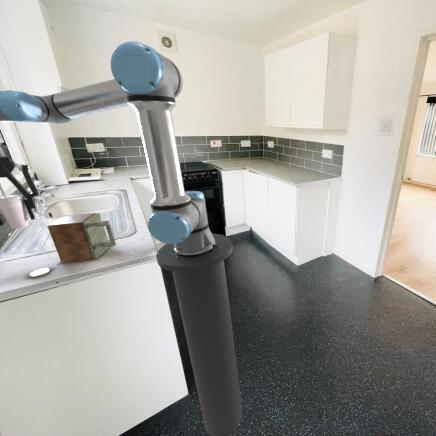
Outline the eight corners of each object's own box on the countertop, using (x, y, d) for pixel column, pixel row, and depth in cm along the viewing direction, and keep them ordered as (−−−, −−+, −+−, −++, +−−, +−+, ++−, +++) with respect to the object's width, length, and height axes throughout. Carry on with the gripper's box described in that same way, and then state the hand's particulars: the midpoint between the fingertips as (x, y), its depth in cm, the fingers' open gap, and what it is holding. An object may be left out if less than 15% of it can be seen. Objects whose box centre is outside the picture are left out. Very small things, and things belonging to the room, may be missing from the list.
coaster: (53, 268, 86) (53, 267, 86) (44, 276, 82) (43, 274, 81) (36, 270, 85) (36, 269, 85) (26, 278, 80) (25, 277, 80)
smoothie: (4, 227, 77) (-16, 183, 72) (32, 221, 82) (15, 180, 77) (6, 232, 73) (-15, 186, 68) (36, 225, 78) (18, 182, 73)
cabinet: (106, 246, 102) (95, 212, 96) (92, 259, 92) (80, 222, 86) (78, 249, 99) (66, 215, 94) (61, 263, 89) (46, 225, 84)
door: (127, 244, 103) (118, 211, 98) (117, 256, 93) (106, 220, 88) (106, 246, 102) (96, 213, 97) (93, 259, 92) (81, 222, 87)
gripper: (33, 142, 77) (58, 211, 85) (-68, 146, 65) (-28, 226, 73) (32, 143, 72) (59, 216, 80) (-77, 147, 60) (-33, 233, 68)
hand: (17, 221), depth 77 cm, fingers closed on smoothie, 6 cm apart
